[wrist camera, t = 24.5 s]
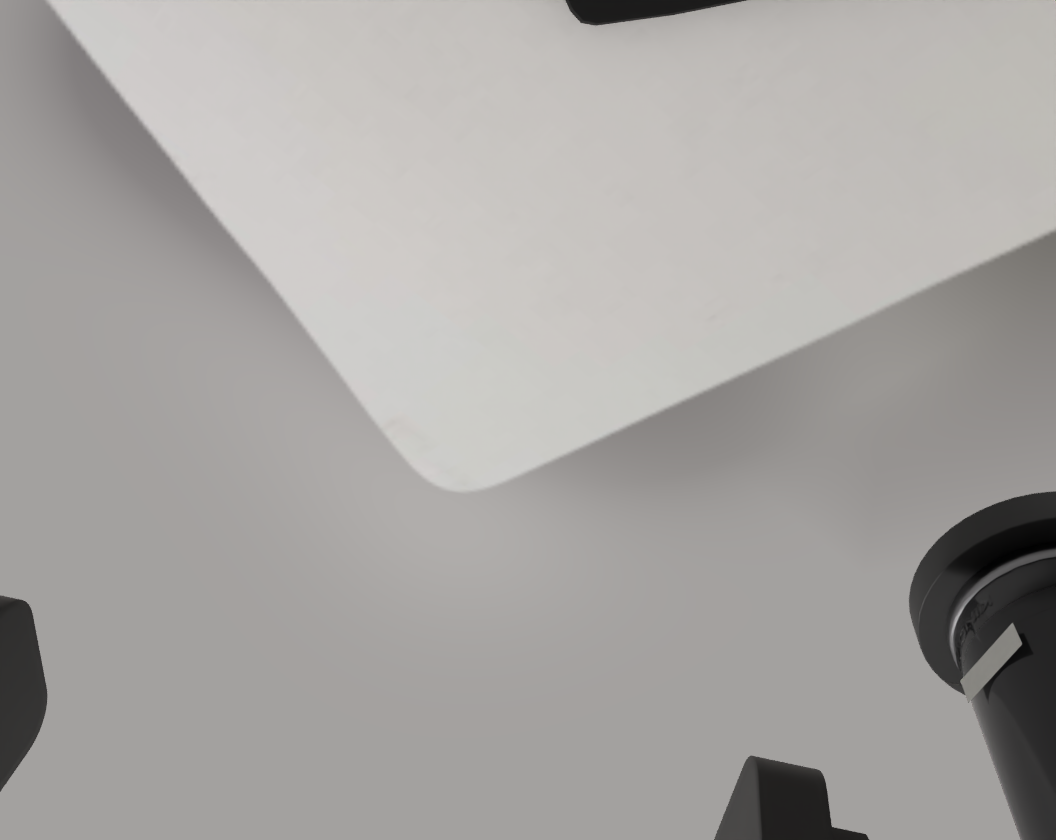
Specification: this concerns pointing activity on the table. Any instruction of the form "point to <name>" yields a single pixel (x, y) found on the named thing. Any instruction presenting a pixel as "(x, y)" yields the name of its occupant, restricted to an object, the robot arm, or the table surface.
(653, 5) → the light switch
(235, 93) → the table surface
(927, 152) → the table surface
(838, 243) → the table surface
